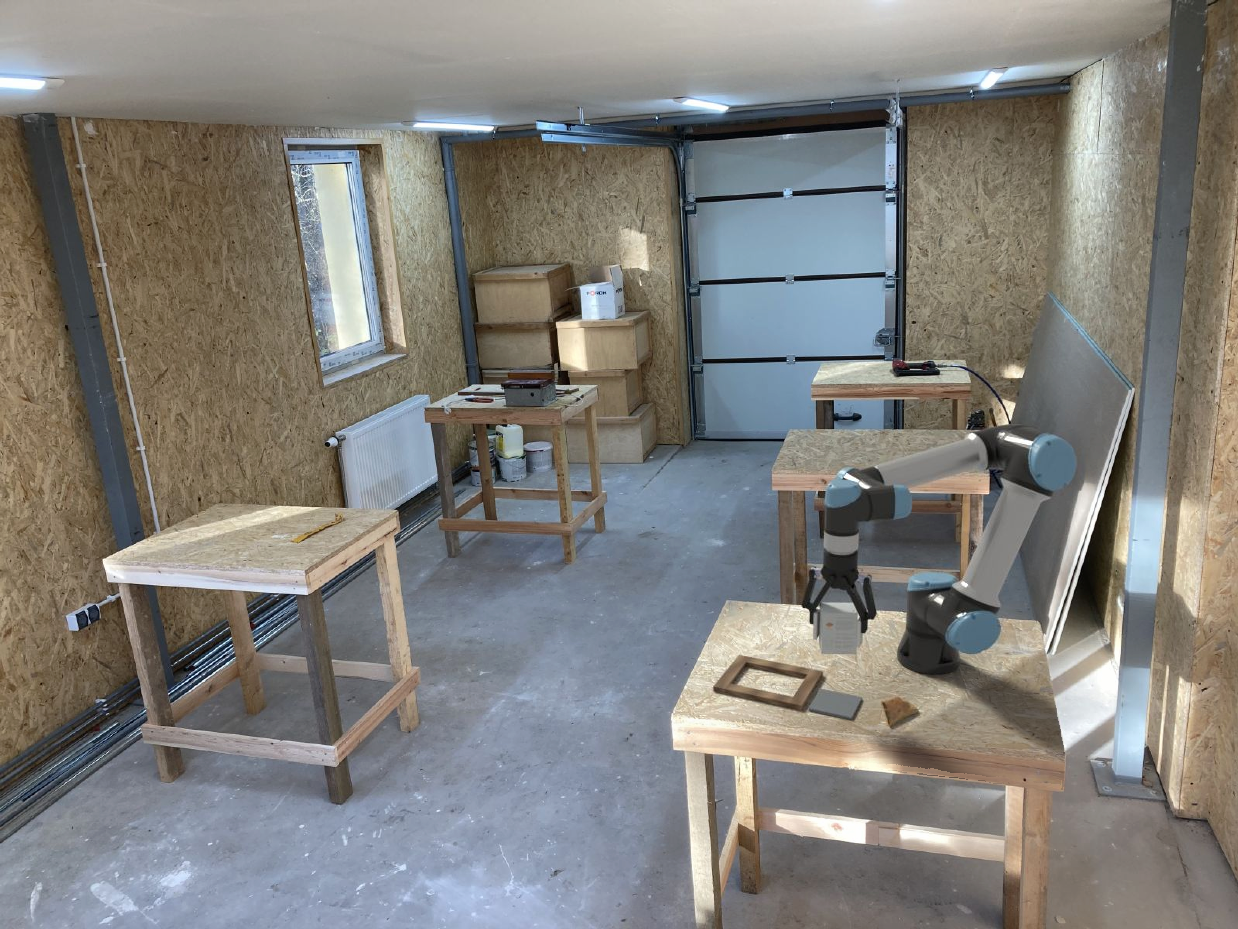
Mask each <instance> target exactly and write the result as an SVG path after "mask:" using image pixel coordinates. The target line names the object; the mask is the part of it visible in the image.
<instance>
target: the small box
mask: <svg viewBox="0 0 1238 929" xmlns="http://www.w3.org/2000/svg"><path fill="white" fill-rule="evenodd" d="M819 609H820V616H819V636H818V644H819V650H820V653H821V655H857V652H858V651H857V648H858V647H856V641H857V620H858V619H859V614H858V612H857V610H856V608H855V606H854V604H853V602H820V603H819Z"/></svg>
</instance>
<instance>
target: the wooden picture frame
mask: <svg viewBox="0 0 1238 929" xmlns="http://www.w3.org/2000/svg"><path fill="white" fill-rule="evenodd" d="M747 667H748V668H754V669H758V670H763V671H766V672H767V671H768V672H774V673H778V674H783V675H788V676H791V677H792V676H793V677H797V678H802V679H803V680H802V682H801V684H800V685H799V687H798V688H797V690H796V691H795V693H794V695H793V696H791V695H787V694H781V693H776V692H771V691H767V690H763V689H757V688H754V687H753V688H752V687H748V686H743V685H739V684H734V682H735V681H736V680H737V679H738V678H739V676H740V675H741V673H742V672H744V670H745V668H747ZM823 676H824V671H823V670H818V669H813V668H809V667H803V666H798V665H793V664H788V663H782V662H777V661H772V660H769V659H763V658H757V657H752V656H747V655H743V654H742V655H741V654H738V655H737V656H736V658H735V659H734V660H733V662H732V663H731V664H730V665H729V667H727V669H725V671H724V672H723V674H722V675H721V676H720V677H719V678H718V679H717V681H716V682H715V684H714V685H713V687H712V688H713V689H712V691H713V692H717V693H722V694H727V695H730V696H731V695H732V696H735V697H740V698H744V699H749V700H754V701H758V702H763V703H766V704H767V703H768V704H772V705H776V706H780V707H786V708H790V709H794V710H799V711H803V709H804V707H805V705H806V704H807V702H808V700H809V699H810V697H811V696H812V694H813V692H814V691H815V689H816V687H817V686H818V685H819V682H821V680H822V678H823Z"/></svg>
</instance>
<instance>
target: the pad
mask: <svg viewBox="0 0 1238 929" xmlns="http://www.w3.org/2000/svg"><path fill="white" fill-rule="evenodd" d="M862 701H863V696H859V695H855V694H850V693H845V692H844V693H843V692H839V691H834V690H830V689H825V688H820V689H819V690H818V692H817V693H816V695H815V696H814V699H813V700H812V702H811V703H810V705H809V706H808V711H809V712H812V713H813V712H814V713H818V714H823V715H827V716H831V717H832V716H833V717H836V718H841V719H846V720H850V721H852V720H853V718H854V717H855V714H856V712H857V710H858V708H859V707H860V704H861V702H862Z"/></svg>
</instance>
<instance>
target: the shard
mask: <svg viewBox="0 0 1238 929" xmlns="http://www.w3.org/2000/svg"><path fill="white" fill-rule="evenodd" d="M880 705H881V707H882V710H883V712H884V713H883V714H884V717H885V722H886V724H887V726H888V727H889V728H891V727H893V726H894V725H895V724H896V722H897V723H898V722H900V721H901V720H903V719H905V718H908V717H909V716H912V715H914V714H917V713H918V712H919V709H918V708H917V706H915V705H914V704H913V703H910V702H909V701H906V700H904V699H902V698H901V697H898V696H893V697H891V698H890V699H886V700H884V701H880ZM890 726H891V727H890Z"/></svg>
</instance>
